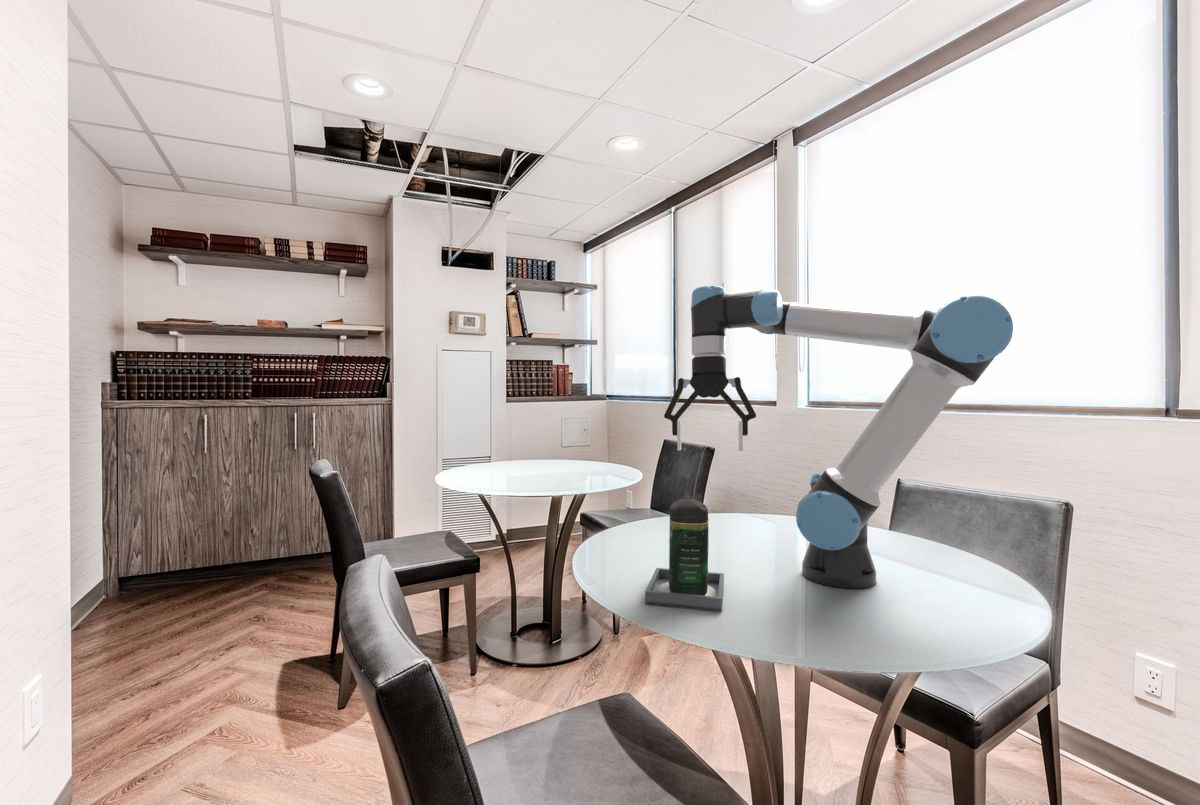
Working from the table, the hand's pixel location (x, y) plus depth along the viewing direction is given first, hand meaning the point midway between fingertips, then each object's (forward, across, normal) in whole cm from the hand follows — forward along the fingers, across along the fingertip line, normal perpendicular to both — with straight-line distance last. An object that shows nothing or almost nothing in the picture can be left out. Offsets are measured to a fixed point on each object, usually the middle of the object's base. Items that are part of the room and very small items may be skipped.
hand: (709, 450), depth 120 cm
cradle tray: (+28, +5, +13) cm, 31 cm away
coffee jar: (+28, +4, +13) cm, 31 cm away
